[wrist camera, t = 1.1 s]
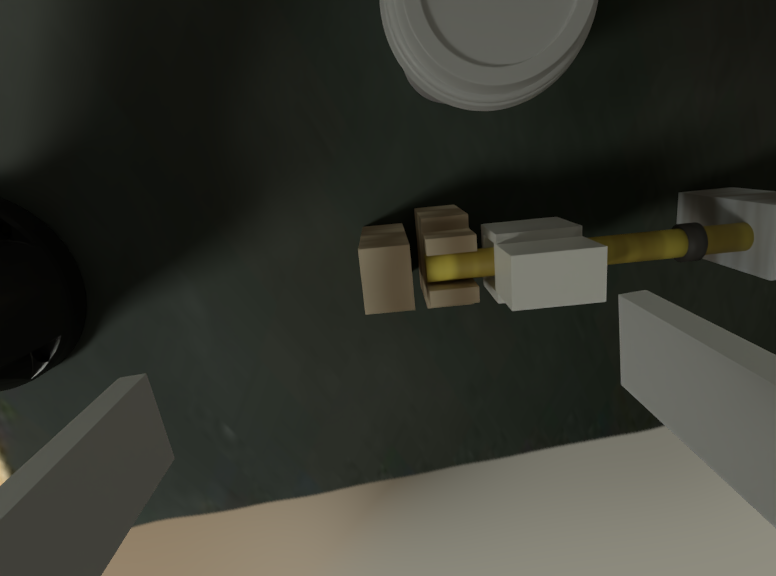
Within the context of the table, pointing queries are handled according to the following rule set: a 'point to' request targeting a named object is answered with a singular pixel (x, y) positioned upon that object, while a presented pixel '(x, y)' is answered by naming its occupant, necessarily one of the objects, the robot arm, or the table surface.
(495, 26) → the coffee cup
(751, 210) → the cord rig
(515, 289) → the grey stepped block
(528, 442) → the table surface
